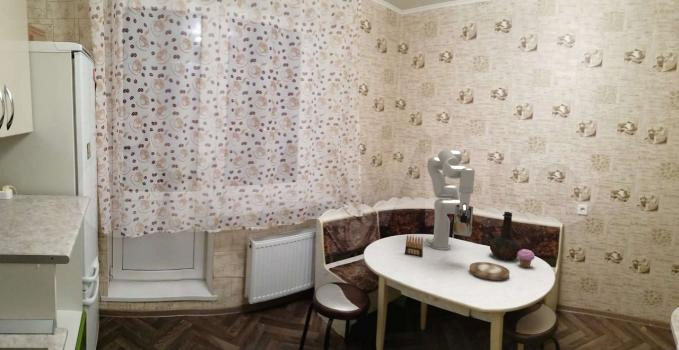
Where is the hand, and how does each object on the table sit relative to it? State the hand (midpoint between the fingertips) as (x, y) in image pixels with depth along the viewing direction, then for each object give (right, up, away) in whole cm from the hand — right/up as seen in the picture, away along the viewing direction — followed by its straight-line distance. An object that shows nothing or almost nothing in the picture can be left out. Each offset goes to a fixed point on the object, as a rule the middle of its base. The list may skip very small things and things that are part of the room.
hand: (463, 220), depth 225 cm
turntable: (+10, -27, -11) cm, 31 cm away
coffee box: (0, -8, +1) cm, 8 cm away
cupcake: (+36, -27, +3) cm, 45 cm away
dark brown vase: (+30, -24, +17) cm, 42 cm away
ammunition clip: (-25, -23, +15) cm, 37 cm away
